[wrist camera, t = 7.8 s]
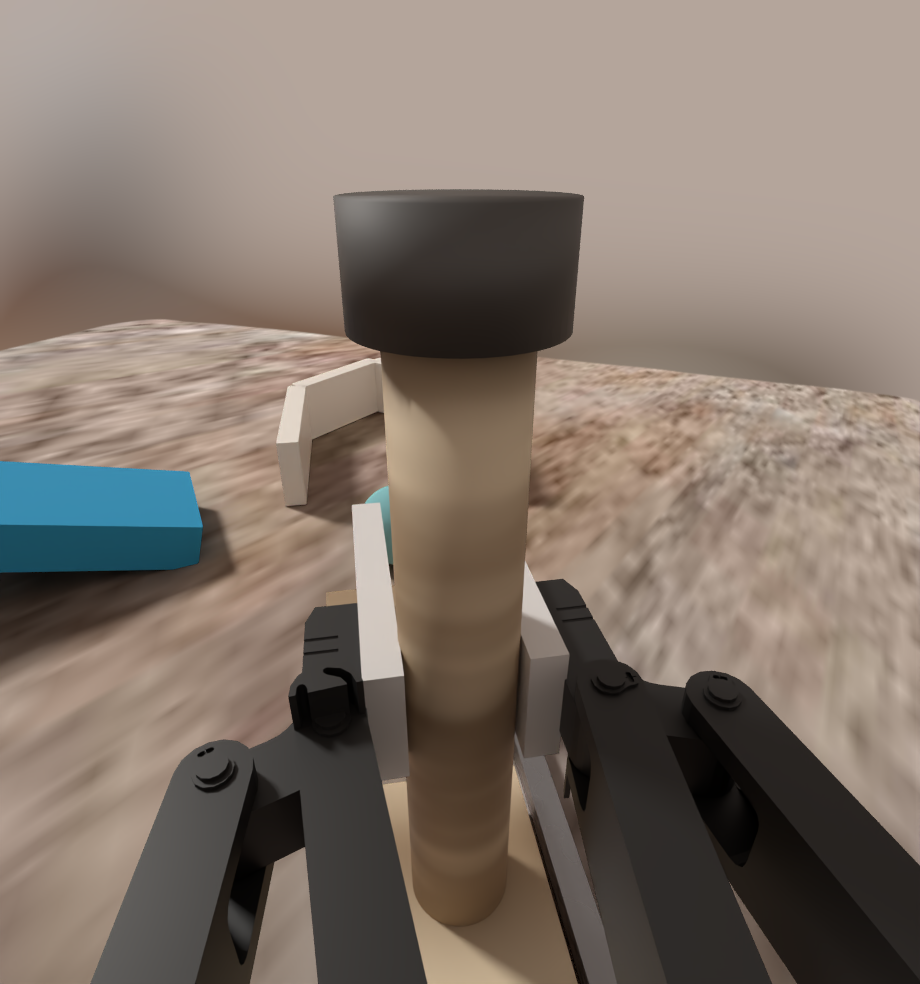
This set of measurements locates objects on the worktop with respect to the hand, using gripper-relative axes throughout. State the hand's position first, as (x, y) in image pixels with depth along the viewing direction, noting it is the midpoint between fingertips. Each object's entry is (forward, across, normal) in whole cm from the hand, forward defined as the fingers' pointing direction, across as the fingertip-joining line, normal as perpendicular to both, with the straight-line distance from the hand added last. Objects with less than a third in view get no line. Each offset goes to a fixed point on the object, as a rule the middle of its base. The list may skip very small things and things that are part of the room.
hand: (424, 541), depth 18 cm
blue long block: (+14, -20, -9) cm, 26 cm away
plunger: (-3, 0, -8) cm, 9 cm away
